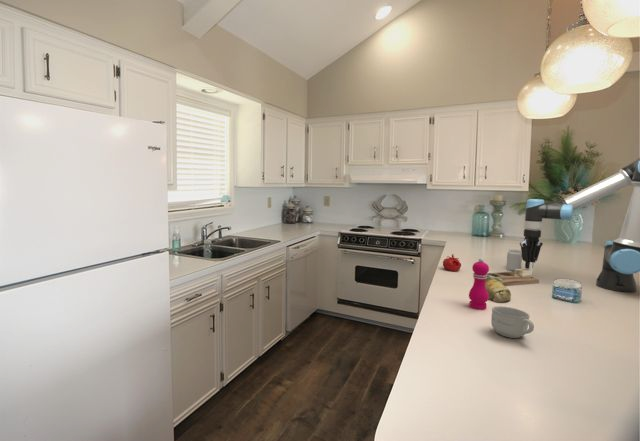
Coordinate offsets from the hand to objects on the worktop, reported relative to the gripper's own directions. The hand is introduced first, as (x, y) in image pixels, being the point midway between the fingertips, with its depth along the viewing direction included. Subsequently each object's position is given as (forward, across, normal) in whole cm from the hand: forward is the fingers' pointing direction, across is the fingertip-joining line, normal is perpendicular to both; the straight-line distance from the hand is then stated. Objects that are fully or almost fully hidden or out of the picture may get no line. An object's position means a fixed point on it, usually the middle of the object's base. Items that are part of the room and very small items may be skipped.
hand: (528, 274), depth 178 cm
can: (+4, -12, -20) cm, 24 cm away
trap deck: (+4, +10, -3) cm, 12 cm away
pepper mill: (+4, +55, +26) cm, 61 cm away
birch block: (+2, +4, 0) cm, 4 cm away
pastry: (+4, +39, +18) cm, 43 cm away
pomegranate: (+4, +25, -28) cm, 38 cm away
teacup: (+4, +64, +51) cm, 82 cm away
